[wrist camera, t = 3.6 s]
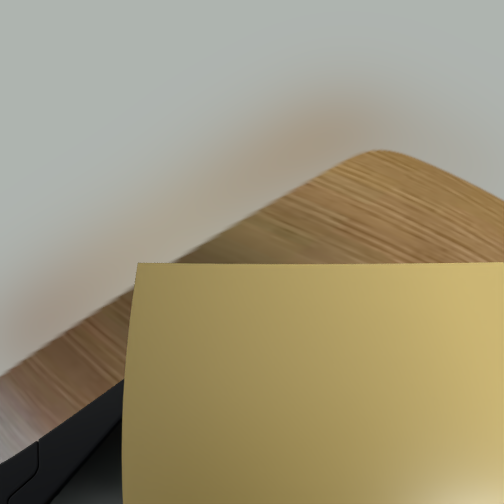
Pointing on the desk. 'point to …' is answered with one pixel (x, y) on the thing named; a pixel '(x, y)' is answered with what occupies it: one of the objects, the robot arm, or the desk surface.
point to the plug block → (315, 384)
